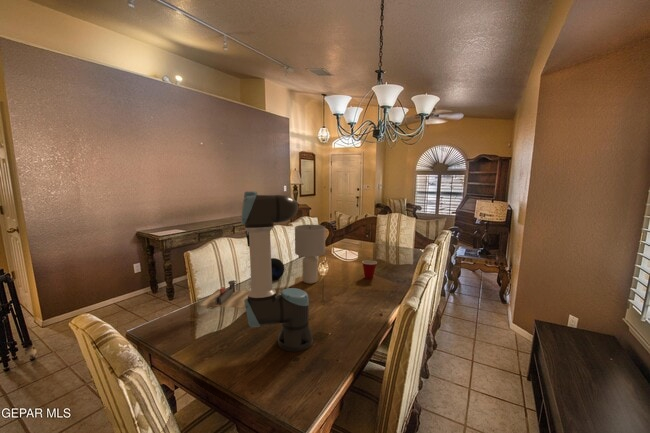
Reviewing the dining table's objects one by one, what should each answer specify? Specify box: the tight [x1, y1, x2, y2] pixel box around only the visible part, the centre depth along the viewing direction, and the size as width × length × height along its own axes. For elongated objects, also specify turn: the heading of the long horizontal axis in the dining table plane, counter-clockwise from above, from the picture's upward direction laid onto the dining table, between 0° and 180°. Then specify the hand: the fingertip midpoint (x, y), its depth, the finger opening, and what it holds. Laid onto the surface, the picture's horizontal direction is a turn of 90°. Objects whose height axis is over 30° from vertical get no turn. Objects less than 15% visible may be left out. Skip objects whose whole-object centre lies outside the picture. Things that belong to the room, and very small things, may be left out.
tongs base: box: [215, 284, 236, 305], centre depth 164 cm, size 19×3×5 cm, turn 170°
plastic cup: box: [361, 260, 378, 280], centre depth 202 cm, size 11×11×12 cm
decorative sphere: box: [271, 257, 285, 281], centre depth 197 cm, size 15×15×15 cm
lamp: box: [294, 224, 326, 285], centre depth 192 cm, size 20×20×39 cm
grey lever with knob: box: [219, 279, 237, 305], centre depth 165 cm, size 20×5×6 cm, turn 173°
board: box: [199, 288, 251, 309], centre depth 165 cm, size 26×22×1 cm
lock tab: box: [219, 286, 226, 293], centre depth 162 cm, size 3×2×2 cm, turn 170°
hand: (252, 256), depth 168 cm, fingers closed
